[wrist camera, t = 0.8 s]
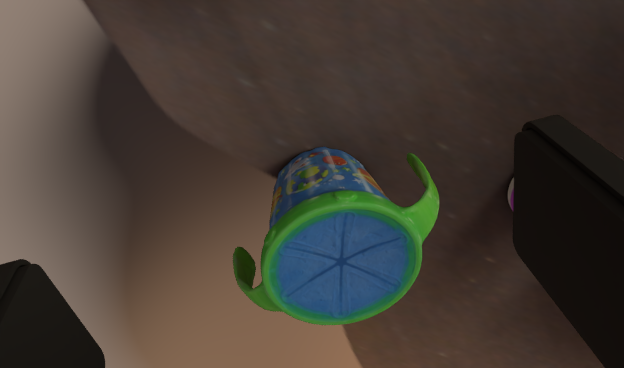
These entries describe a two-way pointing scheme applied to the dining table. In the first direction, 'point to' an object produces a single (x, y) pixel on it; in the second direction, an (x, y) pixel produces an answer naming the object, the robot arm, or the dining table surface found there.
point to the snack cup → (337, 241)
